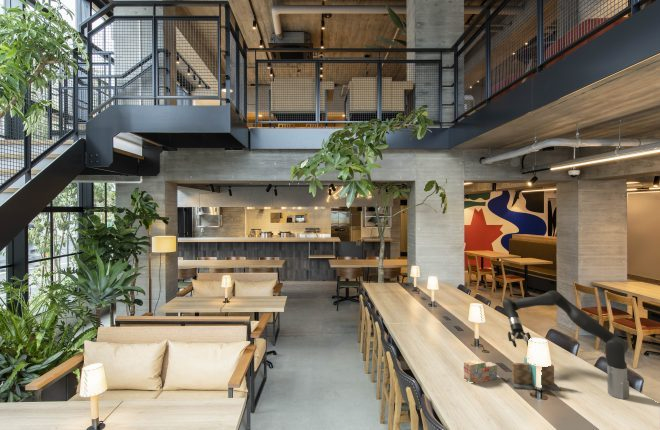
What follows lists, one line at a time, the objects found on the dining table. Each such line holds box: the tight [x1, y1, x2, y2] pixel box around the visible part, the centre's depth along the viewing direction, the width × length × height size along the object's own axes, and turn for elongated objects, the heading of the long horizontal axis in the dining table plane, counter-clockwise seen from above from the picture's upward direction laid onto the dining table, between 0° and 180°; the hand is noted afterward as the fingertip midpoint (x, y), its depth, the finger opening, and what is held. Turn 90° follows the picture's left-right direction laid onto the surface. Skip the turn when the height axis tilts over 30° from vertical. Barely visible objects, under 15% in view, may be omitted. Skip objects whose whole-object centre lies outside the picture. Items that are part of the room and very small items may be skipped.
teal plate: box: [523, 357, 542, 387], centre depth 231 cm, size 20×2×12 cm, turn 172°
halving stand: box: [506, 362, 561, 392], centre depth 231 cm, size 27×12×13 cm, turn 82°
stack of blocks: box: [463, 359, 498, 383], centre depth 240 cm, size 21×6×12 cm, turn 108°
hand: (522, 347), depth 247 cm, fingers open, 8 cm apart
